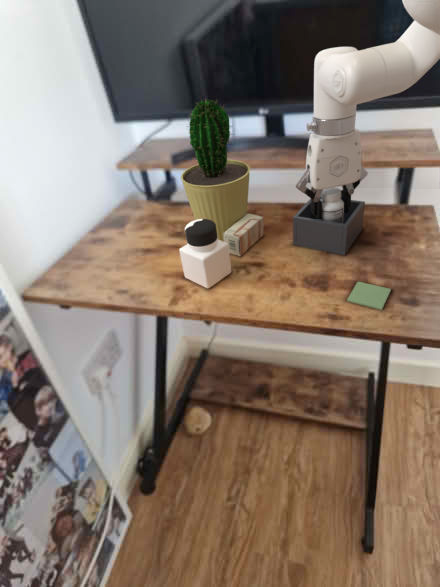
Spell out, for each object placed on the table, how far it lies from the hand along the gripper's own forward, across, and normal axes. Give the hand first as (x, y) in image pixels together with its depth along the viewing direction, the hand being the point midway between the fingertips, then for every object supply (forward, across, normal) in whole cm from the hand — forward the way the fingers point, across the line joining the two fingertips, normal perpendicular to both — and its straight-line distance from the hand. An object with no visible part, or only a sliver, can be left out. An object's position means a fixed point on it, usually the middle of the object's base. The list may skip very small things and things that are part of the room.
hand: (330, 212), depth 86 cm
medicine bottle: (+6, -28, -4) cm, 29 cm away
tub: (+6, 0, +1) cm, 6 cm away
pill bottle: (+5, 0, 0) cm, 5 cm away
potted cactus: (+6, -21, +14) cm, 26 cm away
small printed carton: (+4, -22, +2) cm, 22 cm away
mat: (+6, -2, -21) cm, 22 cm away
